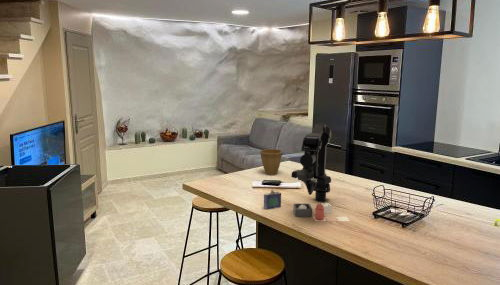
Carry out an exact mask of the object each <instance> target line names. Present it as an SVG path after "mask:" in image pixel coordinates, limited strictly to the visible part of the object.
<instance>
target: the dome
mask: <svg viewBox="0 0 500 285" xmlns="http://www.w3.org/2000/svg"><path fill="white" fill-rule="evenodd" d="M298 209H307V207H306V206H305V205H300V206H299V207H298Z"/></svg>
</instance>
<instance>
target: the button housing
mask: <svg viewBox="0 0 500 285" xmlns="http://www.w3.org/2000/svg"><path fill="white" fill-rule="evenodd" d="M300 205H305V206H306V207H307V209H298V207H299V206H300ZM292 206H293V209H292V210H293V215H294V217H296V218H313V208H312V206H311V204H310V203H293V205H292Z"/></svg>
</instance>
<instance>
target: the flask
mask: <svg viewBox="0 0 500 285" xmlns="http://www.w3.org/2000/svg"><path fill="white" fill-rule="evenodd" d="M281 207H282V192H280V191H274V189H270V192H268V193H267V192H266V193H264V194H263V210H272V209H277V208H278V209H279V208H281Z"/></svg>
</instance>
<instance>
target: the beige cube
mask: <svg viewBox="0 0 500 285" xmlns="http://www.w3.org/2000/svg"><path fill="white" fill-rule="evenodd" d="M321 204H322V205H323V208H324V215H326V214H328V215H329V214H332V213H333V206H332V205H331V204H330V203H329V202H325V203H324V202H322V203H321Z"/></svg>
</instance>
